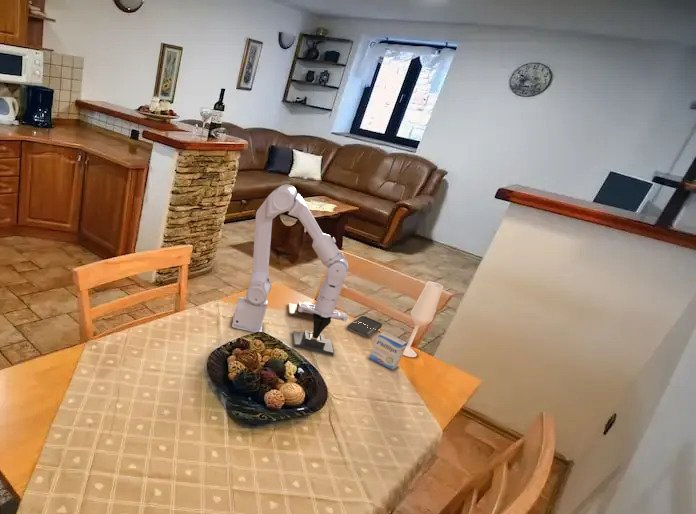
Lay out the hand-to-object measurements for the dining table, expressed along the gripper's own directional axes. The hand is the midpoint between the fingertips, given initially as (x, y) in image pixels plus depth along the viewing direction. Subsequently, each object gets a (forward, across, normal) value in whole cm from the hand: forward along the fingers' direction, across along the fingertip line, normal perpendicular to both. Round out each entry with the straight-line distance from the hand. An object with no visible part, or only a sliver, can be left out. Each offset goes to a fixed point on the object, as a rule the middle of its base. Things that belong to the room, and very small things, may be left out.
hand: (314, 336), depth 154 cm
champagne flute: (+3, +32, +11) cm, 34 cm away
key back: (0, -1, +23) cm, 23 cm away
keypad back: (+3, -1, +23) cm, 23 cm away
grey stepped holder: (+3, 0, 0) cm, 3 cm away
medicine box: (+3, +22, -1) cm, 22 cm away
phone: (+3, +20, +23) cm, 31 cm away
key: (+2, 0, 0) cm, 2 cm away
